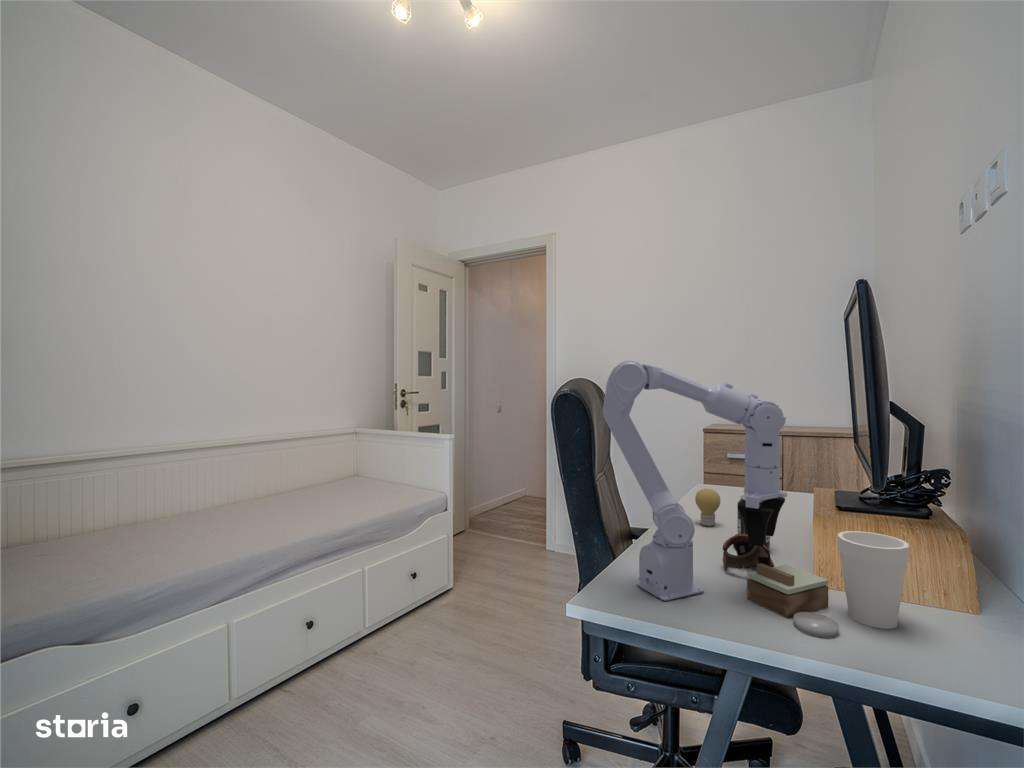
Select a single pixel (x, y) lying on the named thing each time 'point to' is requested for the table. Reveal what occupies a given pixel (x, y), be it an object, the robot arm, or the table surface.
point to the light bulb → (707, 505)
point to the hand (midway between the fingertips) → (762, 540)
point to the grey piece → (816, 624)
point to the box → (787, 599)
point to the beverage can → (742, 524)
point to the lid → (786, 578)
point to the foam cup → (873, 576)
